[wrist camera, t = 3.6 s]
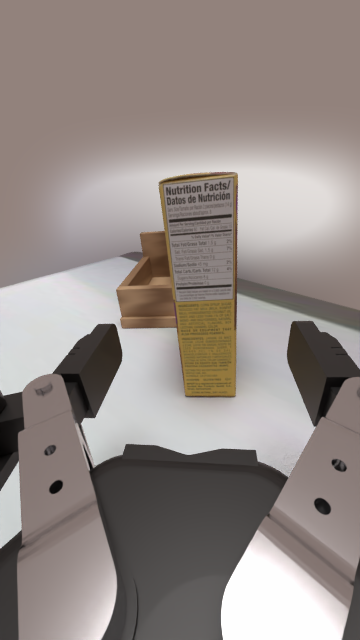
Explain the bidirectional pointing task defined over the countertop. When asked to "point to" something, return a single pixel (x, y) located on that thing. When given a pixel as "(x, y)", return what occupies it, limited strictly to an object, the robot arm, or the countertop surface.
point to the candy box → (203, 277)
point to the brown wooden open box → (148, 287)
